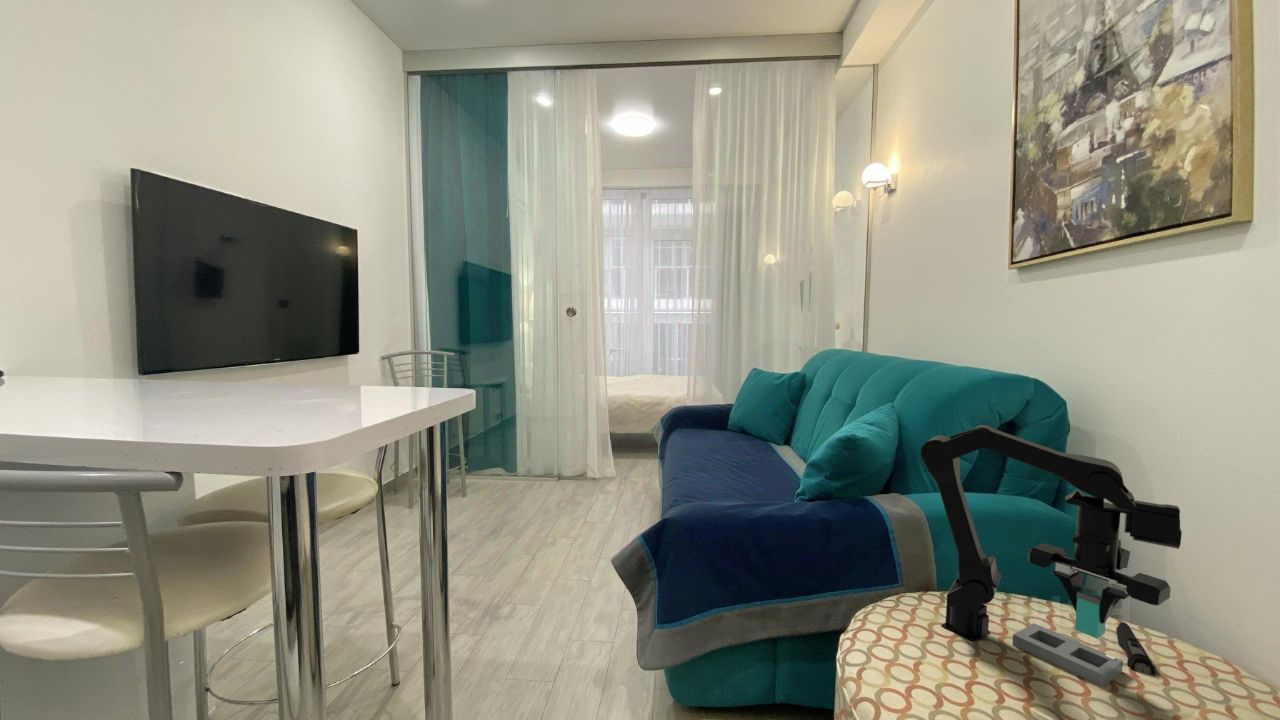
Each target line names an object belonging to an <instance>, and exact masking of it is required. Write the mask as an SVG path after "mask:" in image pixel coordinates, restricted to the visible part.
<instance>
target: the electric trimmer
mask: <svg viewBox="0 0 1280 720" xmlns="http://www.w3.org/2000/svg"><path fill="white" fill-rule="evenodd" d="M1116 639H1117V643H1118V646H1119V647H1120V648H1122V649H1123V650H1124V652H1125V654H1126V657H1127V664H1126V665H1127V667H1128V668H1129V669H1130V670H1131V671H1134V672H1137V673H1143V674H1147V675H1150V676H1156V668H1155V666H1154V663H1153V661H1152V660H1151V658H1150V657H1149V655H1148V653H1147V652H1146V650H1145V649H1144V647H1143V645H1142V643H1140V641H1139V640H1138V638H1137V637H1136V635H1135V633H1134V632H1133V630H1132V629H1131V627H1130V625H1129V624H1127V622H1123V621H1121V622H1120V623H1119V624H1118V625H1117V627H1116Z"/></svg>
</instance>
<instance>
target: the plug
mask: <svg viewBox="0 0 1280 720" xmlns="http://www.w3.org/2000/svg"><path fill="white" fill-rule="evenodd" d="M1076 597H1077V608H1076V612H1075V624H1074V630H1076V631H1078V632H1081V633H1082V634H1085V635H1086V636H1089V637H1093V638H1094V639H1098V638H1100V637H1101V636H1103V635H1104V634H1105V633H1106V622H1107V621H1106V622H1105V623H1104V624H1102V623H1100V609H1101V599H1102V591H1097V590H1095V589H1092V588H1088V587H1082V589H1081V590H1079V591H1077V596H1076Z"/></svg>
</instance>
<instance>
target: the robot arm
mask: <svg viewBox="0 0 1280 720" xmlns="http://www.w3.org/2000/svg"><path fill="white" fill-rule="evenodd" d="M981 449H985V450H989V451H991V452H993V453H996V454H999V455H1002V456H1005V457H1008V458H1010V459H1013V460H1015V461H1018V462H1021V463H1024V464H1026V465H1029V466H1031V467H1034V468H1037V469H1040V470H1043V471H1045V472H1048V473H1051V474H1053V475H1055V476H1057V477H1059V478H1061V479H1062V480H1064V481H1065V482H1067V483H1068V484H1070V485H1071V486H1073V487H1075V488H1076V489H1075V490H1074V491H1073V492H1072V493H1069V494H1066V496H1065V500H1064V502H1065V504H1068V505H1073V506H1077V516H1076V529H1075V531H1076V532H1075V535H1074V536H1072V543H1075V545H1074V557H1070V556H1067V552H1066V550H1065V548H1061V547H1058V546H1055V545H1052V544H1048V543H1046V542H1043V543H1040V544H1038V545H1035V546H1032V547H1031V548H1029V550H1028V553H1027V562H1028V563H1029V564H1032V565H1034V566H1038V567H1041V568H1044V569H1045V568H1049V567H1050V566H1052V564H1055V567H1054V570H1053V571H1052V575H1053V576H1055V577H1057V578H1058V579H1059V581H1060V583H1061V584H1062V585H1061V586H1062V587H1063V588H1064V590H1065V591H1066V594H1067V595H1068V598H1069V600H1070V602H1071V605H1072V606H1073V609H1074V611H1075V613H1076V608H1077V597H1076V596H1077V591H1079V590H1081V589H1083V582H1084V577H1085V575H1088V576H1091V577H1094V578H1097V579H1100V580H1103V581H1107V582H1108V586H1107V587H1105V588H1103V589H1102V591H1101V593H1102V599H1101V609H1100V623H1102V624H1104V623H1105V622H1107V621H1108V619H1109V617H1110V616H1111V614H1112V613H1113V611H1114V610H1115V607H1116V606H1117V604H1118V603H1119V601H1120V600H1126V599H1128V598H1129V597H1130V598H1131V599H1134V600H1137V601H1140V602H1143V603H1146V604H1148V605H1151V606H1159V605H1161V604H1163V603H1165V602H1166V601H1168V600H1169V599H1170V598H1171V585H1169V583H1168V582H1167V580H1164V579H1161V578H1158V577H1154V576H1151V575H1148V574H1145V573H1141V572H1139V573H1137V574H1135V575H1133V576H1130V575H1126V574H1123V573H1120V572H1117V570H1118V571H1121V570H1124V569H1127V568H1128V566H1129V560H1130V555H1131V551H1130V550H1128V549H1125V548H1122V542H1121V541H1122V540H1121V539H1119V536H1120V526H1121V525H1120V523H1121V514H1124V523H1123V524H1124V527H1123V528H1124V533H1127V534H1129V537H1132V541H1136V542H1142V543H1147V544H1152V545H1157V546H1162V547H1167V548H1173V549H1177V550H1179V549H1180V547H1181V541H1182V534H1183V533H1182V530H1181V520H1180V519H1181V518H1180V514H1181V510H1180V507H1179V506H1178V505H1174V504H1168V503H1167V504H1159V503H1154V502H1149V501H1141V500H1135V496H1134V495H1133V492H1130V490H1129V489H1128V488H1127V487H1126V486H1125V484H1124V479H1123V475H1122V471H1121V470H1120V468H1119V467H1118V466H1117V465H1116V464H1115V463H1113V462H1111V461H1109V460H1106V459H1103V458H1098V457H1093V456H1087V455H1082V454H1081V455H1080V454H1074V453H1067V452H1062V451H1059V450H1056V449H1053V448H1050V447H1047V446H1045V445H1041V444H1038V443H1035V442H1032V441H1030V440H1026V439H1024V438H1022V437H1018V436H1015V435H1013V434H1010V433H1006V432H1004V431H1001V430H998V429H996V428H994V427H991V426H990V425H987V424H980V425H977V426H976V427H975V428H972V429H970V430H969V429H968V430H966V431H962V432H959V433H956V434H953V435H951V436H946V435H937V436H934V437H931V439H929V440H928V441H926V442H925V443H924V444H923V446H922V447H921V449H920V457H921V460H922V462H923V463H924V466H925V468H926V471H927V472H928V473H929V474H930V477H932V479H933V481H934V482H935V483H936V486H937V488H938V491H939V494H940V497H941V501H942V504H943V507H944V510H945V513H946V514H945V515H946V517H947V522H948V524H949V527H950V531H951V534H952V538H953V541H954V545H955V548H956V552H957V554H958V555H957V556H958V560H957V563H958V564H957V566H958V568H957V569H958V578H955V579H954V581H953V583H952V585H951V587H950V588H949V591H948V592H947V594H946V604H945V605H946V606H945V607H946V609H945V622H944V623H941V625H940V627H941V628H943V629H946V630H947V631H949V632H952V633H953V634H956V635H958V636H959V637H962V638H963V639H966V641H967V640H968V641H970V642H976V641H978V640H982V639H983V638H986V637H988V636H989V633H990V634H991V632H990V631H989V623H990V615H989V614H987V613H988V612H987V611H988V606H987V605H986V604H989V603H990V602H992V601H993V599H994V598H995V595H996V592H997V589H998V587H999V584H1000V582H1001V581H1000V580H1001V578H1002V574H1001V573H1000V572H999V570H998V567H997V562H996V557H995V556H988V557H987V555H986V554H985V552H984V551H983V549H982V547H981V544H980V540H979V537H978V534H977V531H976V528H975V524H974V521H973V517H972V514H971V510H970V508H969V504H968V502H967V501H968V500H967V498H966V494H965V491H964V488H963V484H962V481H961V460H960V457H962V456H965V455H967V454H970V453H973V452H975V451H978V450H981ZM1081 491H1082V492H1084V493H1086V494H1084V493H1082V492H1081ZM1105 500H1107V501H1108V502H1106V501H1105ZM1105 624H1106V623H1105Z"/></svg>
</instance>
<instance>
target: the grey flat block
mask: <svg viewBox="0 0 1280 720" xmlns="http://www.w3.org/2000/svg"><path fill="white" fill-rule="evenodd" d="M1011 645H1012V646H1014V647H1016V648H1019V649H1021V650H1022V651H1025V652H1027V653H1029V654H1031V655H1033V656H1035V657H1038V658H1040V659H1042V660H1044V661H1047V662H1048V663H1050V664H1052V665H1055V666H1057V667H1059V668H1062V669H1063V670H1066V671H1068V672H1070V673H1072V674H1075V675H1077V676H1078V677H1081V678H1082V679H1085V680H1088V681H1089V682H1092V683H1093V684H1096V685H1098V686H1100V687H1104V686H1106V685H1108V684H1109V683H1110V682H1111V681H1112V680H1113V679H1116V678H1117V677H1118V676H1119V675H1120V674H1122V673H1123V665H1124V664H1123V663H1124V661H1123V660H1122V659H1120V658H1118V657H1115V656H1113V655H1110V654H1108V653H1106V652H1102V651H1100V650H1099V649H1096V648H1093V647H1091V646H1089V645H1087V644H1084V643H1082V642H1079V641H1077V640H1075V639H1072V638H1070V637H1067V636H1065V635H1063V634H1060V633H1058V632H1055V631H1053V630H1051V629H1048V628H1046V627H1044V626H1041V625H1039V624H1036V623H1031V624H1030V625H1028V626H1026V627H1024V628H1023V629H1020V630H1019V631H1017V632H1015V633H1013V634H1012V643H1011Z"/></svg>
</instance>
